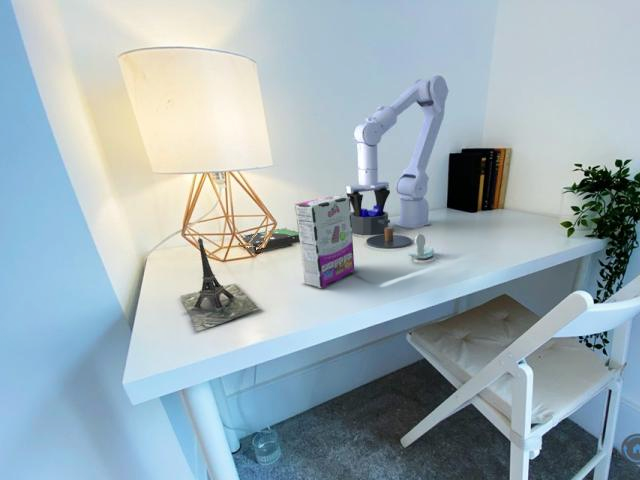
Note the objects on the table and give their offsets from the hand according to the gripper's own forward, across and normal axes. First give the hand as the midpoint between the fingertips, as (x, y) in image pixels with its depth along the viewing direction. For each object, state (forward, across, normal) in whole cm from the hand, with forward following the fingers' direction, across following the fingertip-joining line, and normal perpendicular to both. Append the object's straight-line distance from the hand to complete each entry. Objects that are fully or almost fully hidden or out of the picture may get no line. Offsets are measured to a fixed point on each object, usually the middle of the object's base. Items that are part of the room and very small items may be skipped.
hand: (369, 215), depth 105 cm
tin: (+5, 0, 0) cm, 5 cm away
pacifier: (+6, -7, -30) cm, 31 cm away
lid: (+5, -4, -14) cm, 15 cm away
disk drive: (+6, -29, +8) cm, 31 cm away
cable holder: (+2, 0, 0) cm, 2 cm away
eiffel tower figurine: (+6, -52, -23) cm, 57 cm away
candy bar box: (+6, -30, -25) cm, 39 cm away
